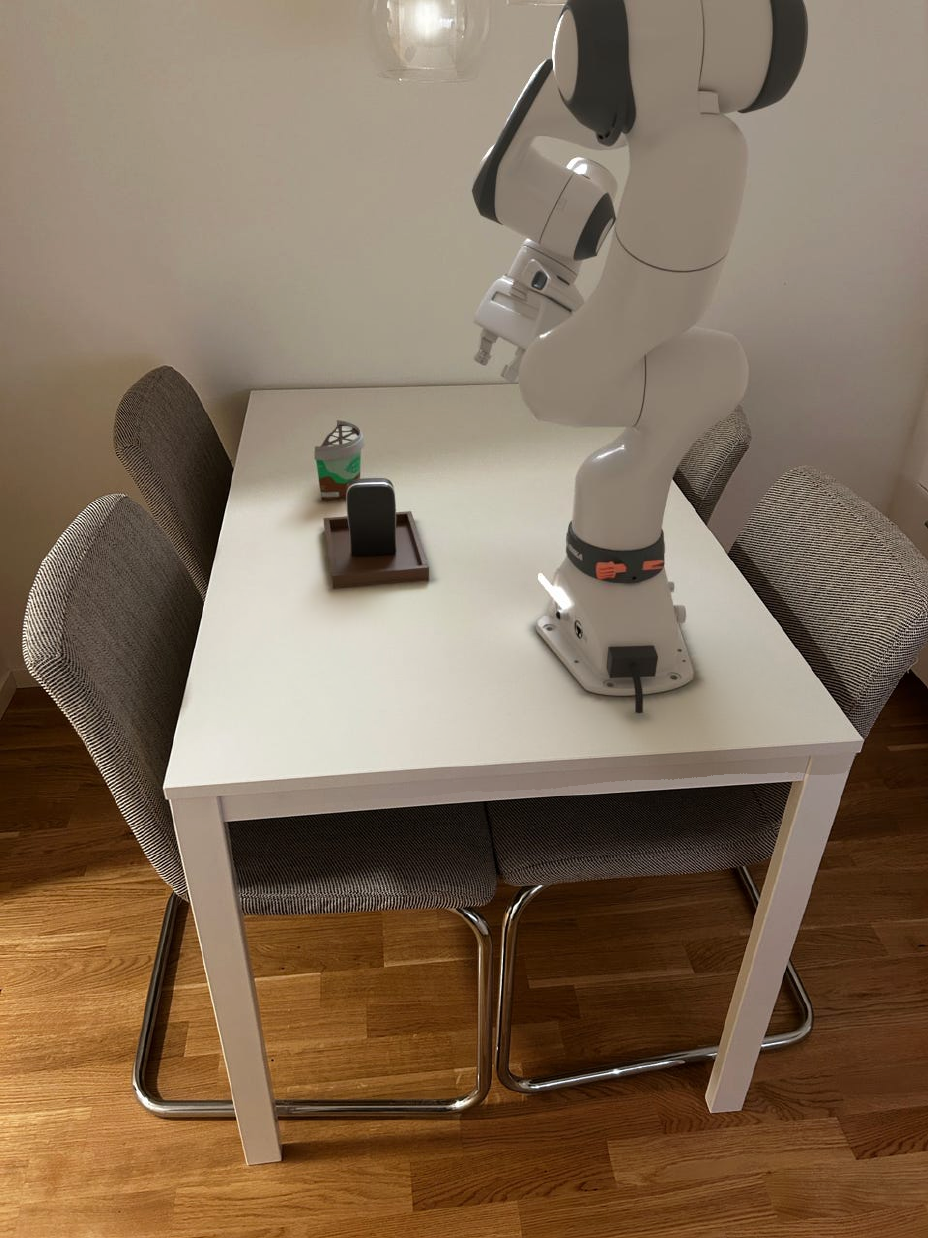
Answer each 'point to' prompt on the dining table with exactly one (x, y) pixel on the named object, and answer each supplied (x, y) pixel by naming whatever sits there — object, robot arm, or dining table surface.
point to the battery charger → (371, 517)
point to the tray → (380, 568)
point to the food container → (339, 460)
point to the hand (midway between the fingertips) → (492, 371)
